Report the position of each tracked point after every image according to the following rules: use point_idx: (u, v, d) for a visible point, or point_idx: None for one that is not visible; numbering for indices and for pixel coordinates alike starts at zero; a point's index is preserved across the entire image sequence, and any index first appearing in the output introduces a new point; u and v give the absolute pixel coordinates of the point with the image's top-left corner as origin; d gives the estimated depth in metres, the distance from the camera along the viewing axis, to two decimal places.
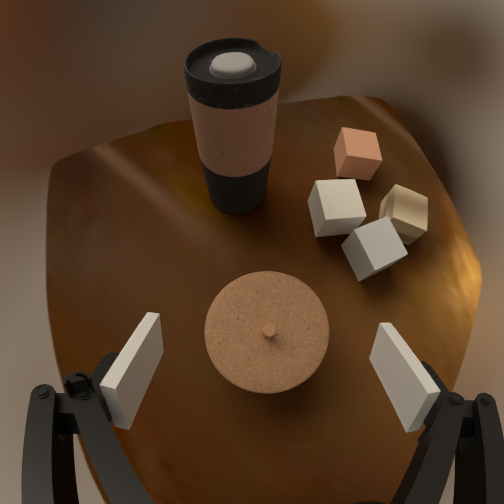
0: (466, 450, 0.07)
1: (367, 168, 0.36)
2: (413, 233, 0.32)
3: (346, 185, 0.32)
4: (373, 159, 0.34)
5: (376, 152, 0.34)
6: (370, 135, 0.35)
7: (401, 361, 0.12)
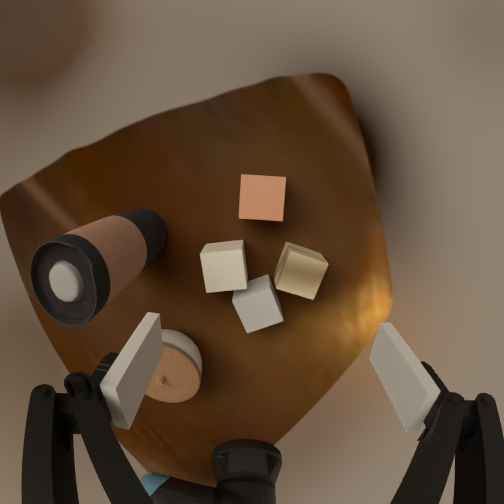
0: (466, 450, 0.07)
1: None
2: None
3: (231, 257, 0.34)
4: None
5: (277, 210, 0.33)
6: (276, 183, 0.32)
7: (401, 361, 0.12)
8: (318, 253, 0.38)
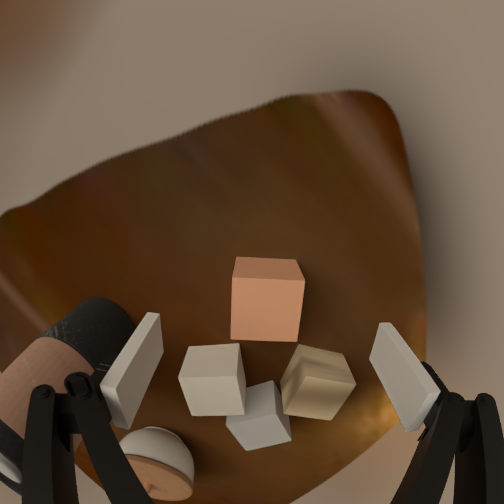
0: (466, 450, 0.07)
1: None
2: None
3: (221, 384, 0.22)
4: None
5: (290, 328, 0.21)
6: (290, 290, 0.20)
7: (401, 361, 0.12)
8: (341, 357, 0.26)
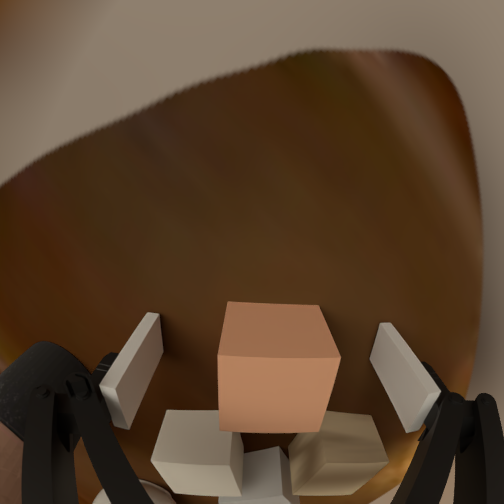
0: (466, 450, 0.07)
1: None
2: None
3: (209, 471, 0.14)
4: (292, 432, 0.12)
5: (310, 418, 0.12)
6: (315, 372, 0.11)
7: (401, 361, 0.12)
8: (369, 421, 0.18)
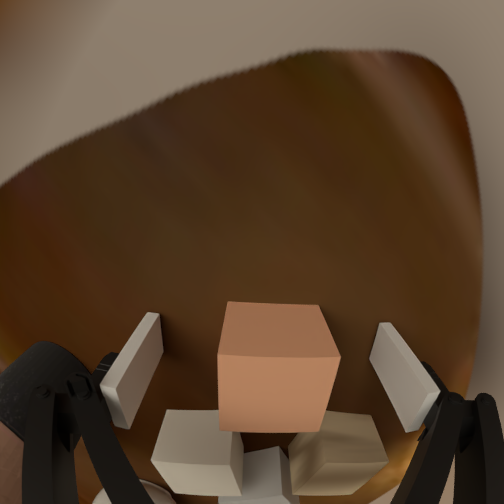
0: (466, 450, 0.07)
1: None
2: None
3: (210, 471, 0.14)
4: (292, 432, 0.12)
5: (310, 417, 0.12)
6: (315, 372, 0.11)
7: (401, 361, 0.12)
8: (369, 421, 0.18)
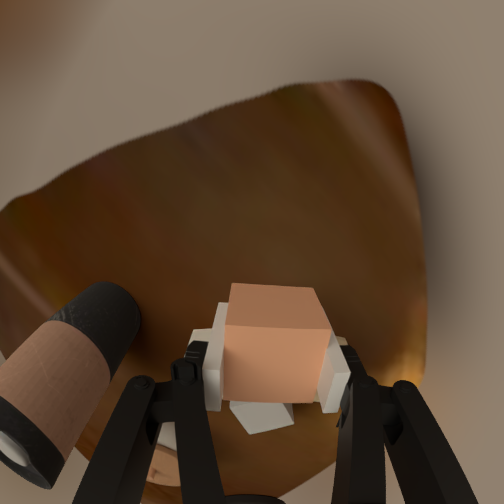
0: (397, 442, 0.09)
1: None
2: None
3: None
4: (289, 402, 0.14)
5: (305, 388, 0.14)
6: (309, 343, 0.13)
7: None
8: (343, 341, 0.27)
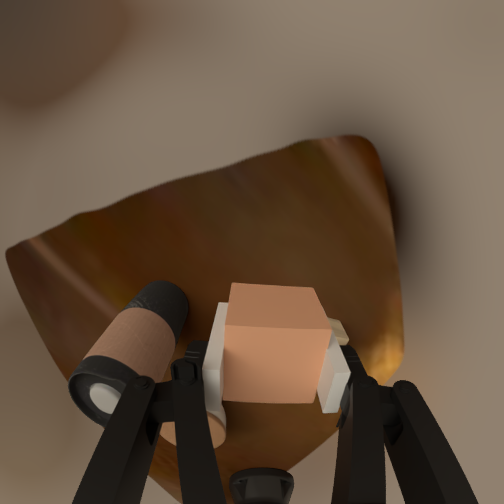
0: (397, 442, 0.09)
1: None
2: None
3: None
4: (289, 402, 0.14)
5: (305, 388, 0.14)
6: (309, 343, 0.13)
7: None
8: (338, 322, 0.38)
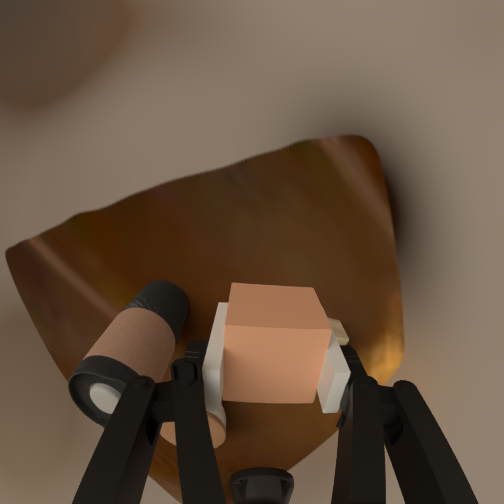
0: (397, 442, 0.09)
1: None
2: None
3: None
4: (289, 402, 0.14)
5: (305, 388, 0.14)
6: (309, 343, 0.13)
7: None
8: (338, 322, 0.38)
